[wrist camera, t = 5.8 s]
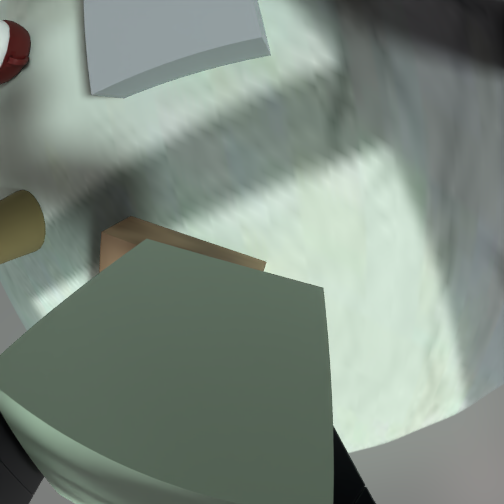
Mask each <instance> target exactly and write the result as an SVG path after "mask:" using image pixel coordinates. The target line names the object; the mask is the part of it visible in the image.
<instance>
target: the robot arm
mask: <svg viewBox="0 0 504 504" xmlns="http://www.w3.org/2000/svg"><path fill="white" fill-rule="evenodd" d="M333 450H334V489H333V504H376V503H375V501H374V500H373V498H372V496H371V494H370V493H369V491H368V489H367V487H364V486H365V484H364V482H363V480H362V478H361V476H360V474H359V472H358V471H357V469H356V467H355V465H354V463H353V461H352V460H351V458H350V456H349V454H348V452H347V450H346V448H345V447H344V445H343V443H342V441H341V439H340V437H339V435H338V434H337V432H336V430H335V428H334V426H333ZM43 478H44V476H43V474H42V473H41V472H40V470H39V469H38V468H37V466H36V465H35V464H34V462H33V461H32V460H31V458H30V457H29V456H28V454H27V453H26V451H25V450H24V448H23V447H22V445H21V444H20V443H19V441H18V439H17V438H16V436H15V435H14V433H13V432H12V430H11V429H10V427H9V425H8V424H7V422H6V420H5V419H4V417H3V415H2V413H1V412H0V504H29V502H30V501H31V499H32V497H33V494H34V493H35V492H36V490H37V488H38V486H39V485H40V483H41V481H42V480H43Z"/></svg>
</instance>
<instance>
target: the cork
mask: <svg viewBox="0 0 504 504" xmlns="http://www.w3.org/2000/svg"><path fill="white" fill-rule="evenodd" d="M44 239H45V221H44V216H43V213H42V210H41V208H40V205H39V203H38V202H37V200H36V199H35V197H34V196H33V195H32V194H31V193H30V192H28V191H25V190H20V191H17V192H15V193H13V194H11V195H9V196H7V197H6V198H4V199H2V200H0V264H2V263H5V262H7V261H10V260H13V259H15V258H18V257H21V256H24V255H26V254H29V253H32V252H35V251H37V250H38V249H40V248H41V246H42V245H43V243H44Z"/></svg>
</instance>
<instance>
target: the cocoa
mask: <svg viewBox="0 0 504 504" xmlns="http://www.w3.org/2000/svg"><path fill="white" fill-rule="evenodd" d="M30 44H31V42H30V36H29V33H28V31H27V30H26V29H25V28H23V27H22V26H20V25H19V24H17V23H15V22H13V21H9V20H2V21H1V20H0V84H3V83H5V82H8V81H9V80H11V79H12V78H13V77H14V76H16V75H17V74H18V73H19V72H20V70H21V69H22V67H23V66H24V65H26V64H27V63H28V60H29V57H28V55H29V50H30Z"/></svg>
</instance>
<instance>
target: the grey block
mask: <svg viewBox="0 0 504 504" xmlns="http://www.w3.org/2000/svg"><path fill="white" fill-rule="evenodd" d="M84 24H85V39H86V52H87V62H88V71H89V80H90V87H91V95H97V96H108V97H118V98H126V97H128V96H131V95H133V94H136V93H138V92H141V91H144V90H146V89H149V88H152V87H155V86H157V85H160V84H163V83H166V82H169V81H172V80H175V79H178V78H181V77H184V76H188V75H191V74H194V73H198V72H201V71H205V70H208V69H212V68H216V67H220V66H224V65H228V64H232V63H236V62H240V61H245V60H249V59H254V58H259V57H264V56H270V55H271V54H270V49H269V45H268V41H267V36H266V32H265V28H264V24H263V20H262V16H261V12H260V8H259V4H258V0H84Z"/></svg>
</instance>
